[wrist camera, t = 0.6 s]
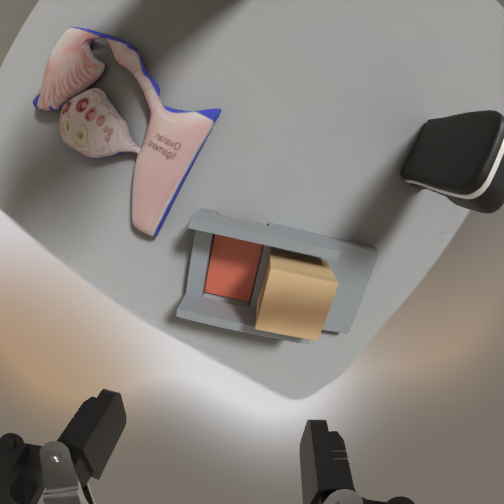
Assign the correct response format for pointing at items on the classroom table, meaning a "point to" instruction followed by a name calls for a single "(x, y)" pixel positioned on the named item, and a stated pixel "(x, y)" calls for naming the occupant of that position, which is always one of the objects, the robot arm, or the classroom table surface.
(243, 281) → the channel
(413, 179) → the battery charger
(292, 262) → the oak block
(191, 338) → the classroom table surface
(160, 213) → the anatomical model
